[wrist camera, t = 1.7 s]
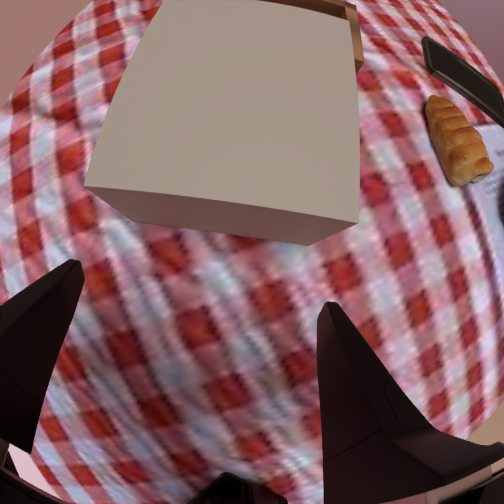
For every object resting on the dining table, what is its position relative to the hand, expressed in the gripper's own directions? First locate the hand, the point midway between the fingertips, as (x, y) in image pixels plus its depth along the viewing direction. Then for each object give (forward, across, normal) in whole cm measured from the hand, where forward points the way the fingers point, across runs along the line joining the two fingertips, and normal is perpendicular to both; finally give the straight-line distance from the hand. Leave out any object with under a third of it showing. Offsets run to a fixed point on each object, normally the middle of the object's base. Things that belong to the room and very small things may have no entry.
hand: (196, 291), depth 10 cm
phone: (+27, -26, -14) cm, 40 cm away
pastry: (+18, -20, -5) cm, 27 cm away
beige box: (+14, 0, -1) cm, 14 cm away
